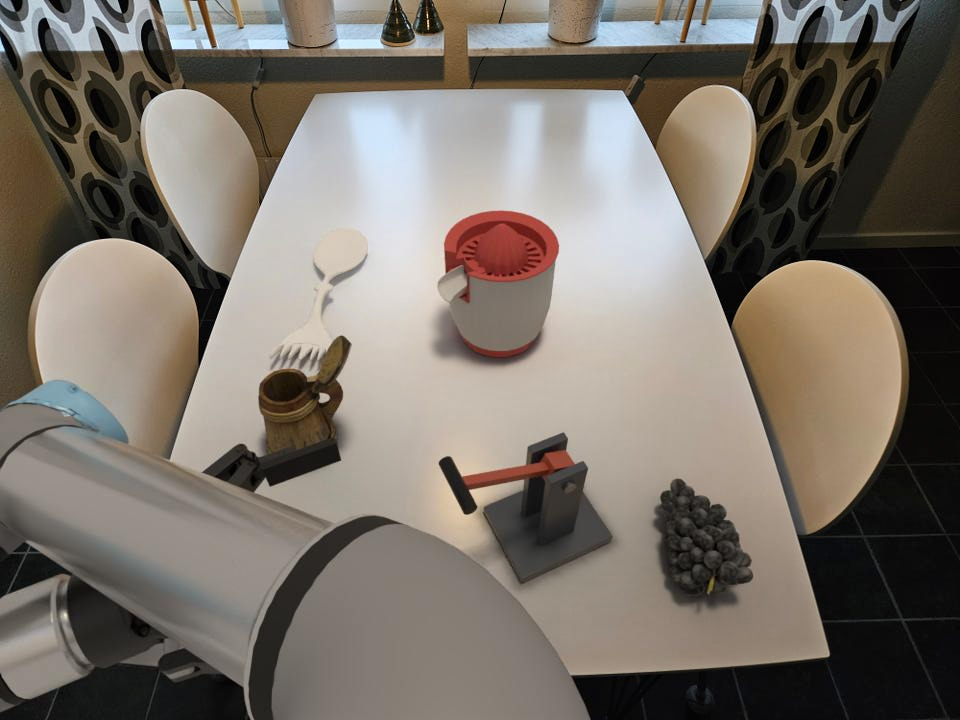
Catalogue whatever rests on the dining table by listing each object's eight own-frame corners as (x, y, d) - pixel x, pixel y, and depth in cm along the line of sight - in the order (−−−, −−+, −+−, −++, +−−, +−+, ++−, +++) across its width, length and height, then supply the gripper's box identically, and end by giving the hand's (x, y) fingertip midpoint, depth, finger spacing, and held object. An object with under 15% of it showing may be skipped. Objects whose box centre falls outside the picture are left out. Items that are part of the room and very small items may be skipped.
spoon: (271, 370, 94) (265, 354, 92) (324, 237, 116) (320, 221, 113) (331, 374, 94) (327, 358, 91) (373, 240, 115) (371, 224, 113)
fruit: (669, 449, 74) (711, 573, 64) (730, 458, 76) (779, 580, 66) (633, 490, 80) (666, 609, 69) (691, 497, 82) (731, 614, 72)
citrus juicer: (419, 325, 101) (410, 217, 86) (511, 286, 107) (517, 179, 93) (472, 389, 92) (472, 282, 77) (569, 343, 98) (585, 235, 84)
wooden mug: (370, 462, 84) (350, 370, 70) (263, 472, 82) (223, 380, 69) (370, 409, 90) (352, 314, 76) (271, 417, 88) (235, 323, 75)
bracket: (521, 583, 73) (529, 518, 62) (483, 511, 79) (484, 441, 68) (611, 541, 76) (633, 473, 65) (568, 476, 82) (582, 403, 71)
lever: (460, 519, 60) (468, 503, 59) (435, 469, 64) (442, 453, 62) (576, 493, 68) (585, 479, 66) (548, 450, 71) (556, 436, 70)
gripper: (97, 509, 58) (327, 427, 64) (120, 814, 42) (420, 668, 49) (56, 462, 52) (312, 377, 58) (66, 793, 37) (412, 632, 43)
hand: (362, 509), depth 54 cm, fingers open, 13 cm apart
